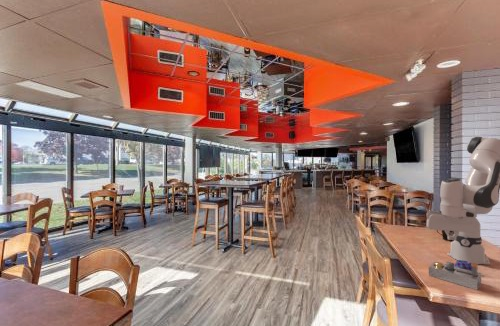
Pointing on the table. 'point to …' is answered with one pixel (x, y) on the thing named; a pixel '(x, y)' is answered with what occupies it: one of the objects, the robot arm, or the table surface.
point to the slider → (474, 269)
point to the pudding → (463, 265)
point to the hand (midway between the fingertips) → (451, 239)
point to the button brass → (438, 264)
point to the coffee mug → (446, 235)
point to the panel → (456, 276)
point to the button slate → (450, 266)
